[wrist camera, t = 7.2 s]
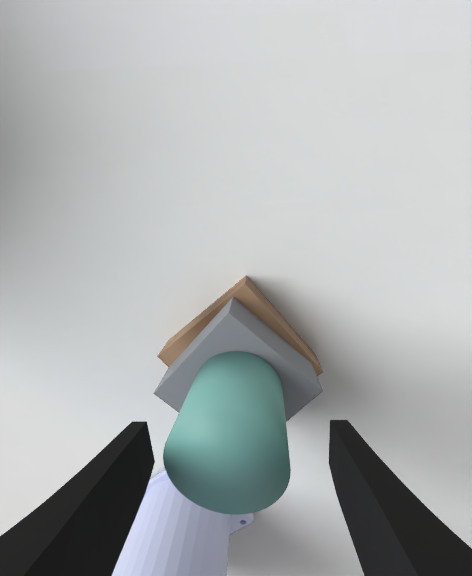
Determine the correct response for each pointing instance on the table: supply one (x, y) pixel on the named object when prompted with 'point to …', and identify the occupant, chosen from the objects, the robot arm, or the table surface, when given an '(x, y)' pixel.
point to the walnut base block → (253, 302)
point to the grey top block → (246, 338)
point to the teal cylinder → (231, 437)
